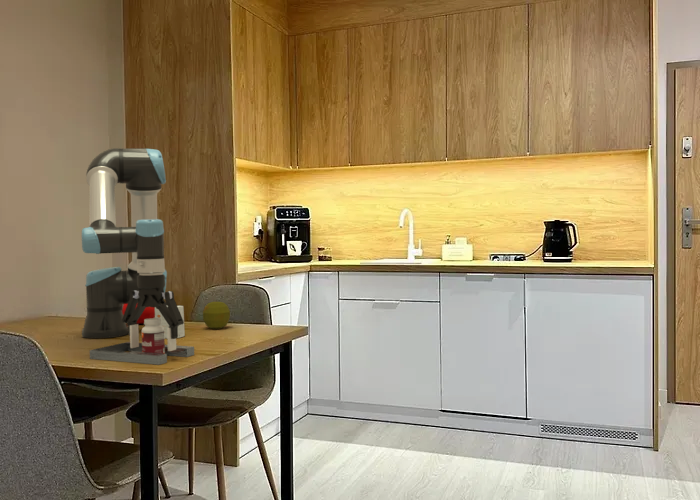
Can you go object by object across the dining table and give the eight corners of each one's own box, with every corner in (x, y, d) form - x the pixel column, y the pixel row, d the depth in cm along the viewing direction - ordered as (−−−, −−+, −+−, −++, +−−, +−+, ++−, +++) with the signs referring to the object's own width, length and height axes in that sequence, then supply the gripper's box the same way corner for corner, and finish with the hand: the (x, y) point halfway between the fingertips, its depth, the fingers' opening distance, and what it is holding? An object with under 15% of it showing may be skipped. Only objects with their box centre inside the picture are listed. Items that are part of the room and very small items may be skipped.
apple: (234, 328, 248) (234, 298, 248) (209, 331, 243) (208, 300, 242) (223, 325, 256) (222, 296, 256) (198, 328, 251) (198, 298, 251)
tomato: (126, 322, 272) (125, 294, 271) (160, 321, 273) (159, 293, 273) (119, 326, 260) (118, 297, 259) (154, 325, 261) (154, 296, 261)
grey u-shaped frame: (89, 358, 195) (89, 350, 195) (127, 349, 208) (127, 341, 208) (158, 364, 184) (158, 355, 184) (194, 354, 198) (194, 346, 198)
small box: (185, 336, 232) (184, 305, 232) (174, 339, 227) (173, 307, 226) (166, 335, 235) (165, 304, 235) (155, 338, 230) (154, 306, 230)
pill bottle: (137, 358, 194) (136, 319, 194) (156, 354, 199) (155, 317, 199) (150, 360, 190) (149, 321, 190) (169, 357, 195) (168, 318, 195)
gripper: (107, 274, 196) (110, 348, 196) (177, 275, 185) (179, 353, 186) (126, 272, 202) (128, 344, 203) (195, 273, 192) (197, 349, 192)
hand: (153, 348), depth 194 cm, fingers open, 13 cm apart
